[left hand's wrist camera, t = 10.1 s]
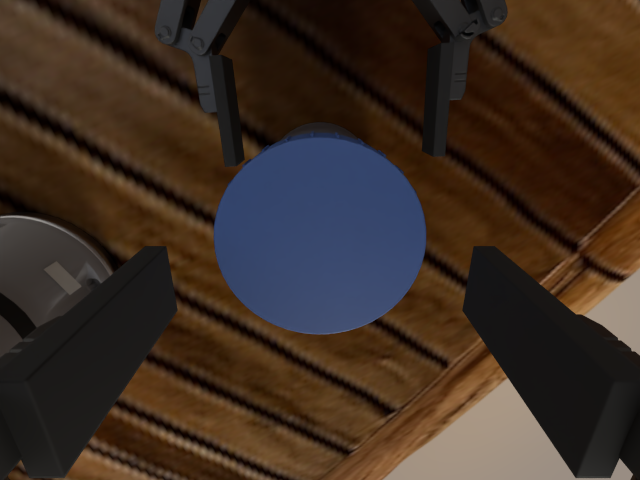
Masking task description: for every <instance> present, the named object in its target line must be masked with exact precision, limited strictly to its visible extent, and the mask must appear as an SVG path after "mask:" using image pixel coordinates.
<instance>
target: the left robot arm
mask: <svg viewBox="0 0 640 480" xmlns="http://www.w3.org/2000/svg"><path fill="white" fill-rule="evenodd" d="M176 312H177V305H176V299H175V293H174V288H173V282H172V276H171V271H170V265H169V259H168V254H167V248H166V246H145V247H144V248H143V249H142V250H140V251H139V252H138V253H137V254H136V255H134V256H133V257H132V258H131V259H130V260H128V261H127V262H126V263H125V264H124V265H122V266H121V267H120V268H119V269H118V267H117V265H116V264H115V262H114V261H113V259H112V258H111V256H110V255H109V254H108V253H107V251H106V250H105V249H104V248H103V247H102V246H101V245H100V244H99V243H98V242H97V241H96V240H95V239H93V238H92V237H91V236H90V235H88V234H87V233H85V232H84V231H82V230H81V229H79V228H78V227H76V226H74V225H72V224H70V223H68V222H66V221H64V220H61V219H58V218H56V217H53V216H49V215H45V214H40V213H34V212H12V213H7V214H3V215H0V480H9V478H8V474H9V473H10V472H11V471H12V470H13V468H14V467H15V466H16V465H17V464H18V462H19V461H20V460H22V462H23V465H24V467H25V469H26V471H27V473H28V476H29V478H65V476H66V475H67V473H68V472H69V470H70V469H71V467H72V466H73V464H74V463H75V461H76V460H77V458H78V457H79V455H80V454H81V452H82V451H83V449H84V448H85V447H86V445H87V444H88V442H89V441H90V439H91V438H92V436H93V435H94V433H95V432H96V430H97V429H98V427H99V426H100V424H101V423H102V421H103V420H104V418H105V417H106V415H107V414H108V412H109V411H110V410H111V408H112V407H113V405H114V404H115V402H116V401H117V399H118V398H119V396H120V395H121V393H122V392H123V390H124V389H125V387H126V386H127V384H128V383H129V381H130V380H131V378H132V377H133V375H134V374H135V373H136V371H137V370H138V368H139V367H140V365H141V364H142V362H143V361H144V359H145V358H146V356H147V355H148V353H149V352H150V350H151V349H152V347H153V346H154V344H155V343H156V341H157V340H158V338H159V337H160V336H161V334H162V333H163V331H164V330H165V328H166V327H167V325H168V324H169V322H170V321H171V319H172V318H173V316H174V315H175V313H176ZM463 312H464V313H465V315H466V316H467V318H468V319H469V321H470V322H471V324H472V325H473V327H474V328H475V330H476V331H477V333H478V334H479V336H480V337H481V339H482V340H483V341H484V343H485V344H486V346H487V347H488V349H489V350H490V352H491V353H492V355H493V356H494V358H495V359H496V361H497V362H498V364H499V365H500V367H501V368H502V370H503V371H504V373H505V374H506V375H507V377H508V378H509V380H510V381H511V383H512V384H513V386H514V387H515V389H516V390H517V392H518V393H519V395H520V396H521V398H522V399H523V401H524V402H525V404H526V405H527V407H528V408H529V410H530V411H531V412H532V414H533V415H534V417H535V418H536V420H537V421H538V423H539V424H540V426H541V427H542V429H543V430H544V432H545V433H546V435H547V436H548V438H549V439H550V441H551V442H552V444H553V445H554V447H555V448H556V449H557V451H558V452H559V454H560V455H561V457H562V458H563V460H564V461H565V463H566V464H567V466H568V467H569V469H570V470H571V472H572V473H573V475H574V476H575V477H576V478H611V476H612V473H613V471H614V469H615V467H616V465H617V462H618V460H619V458H620V459H621V460H622V461H623V463H624V464H625V465H626V466H627V467H628V469H629V470H630V471H631V472H632V473H633V476H632V478H631V480H640V355H638V354H637V353H636V352H632V351H631V348H630V347H628V346H627V345H626V344H625V343H623V342H622V341H618V338H617V337H616V336H615V335H613V334H612V333H611V332H610V331H608V330H607V329H606V328H605V327H603V326H602V325H600V324H599V323H596V322H595V321H593V320H591V319H589V318H587V317H585V316H583V315H576V314H575V313H573V312H572V311H571V310H570V309H569V308H568V307H566V306H565V305H564V304H563V303H562V302H560V301H559V300H558V299H557V298H556V297H554V296H553V295H552V294H551V293H550V292H548V291H547V290H546V289H545V288H544V287H543V286H541V285H540V284H539V283H538V282H537V281H535V280H534V279H533V278H532V277H531V276H529V275H528V274H527V273H526V272H525V271H523V270H522V269H521V268H520V267H519V266H518V265H516V264H515V263H514V262H513V261H512V260H510V259H509V258H508V257H507V256H506V255H504V254H503V253H502V252H501V251H500V250H498V249H497V248H496V247H495V246H474V248H473V254H472V259H471V265H470V271H469V276H468V282H467V288H466V293H465V299H464V305H463Z"/></svg>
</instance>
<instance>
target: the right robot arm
mask: <svg viewBox="0 0 640 480" xmlns="http://www.w3.org/2000/svg"><path fill="white" fill-rule="evenodd" d="M249 1H250V0H209V1H208V3H207V5H206V6H205V8H204V10H203V12H202V14H201V15H200V17H199V19H198V21H197V23H196V25H195V21H196V17H197V14H198V10H199V6H200V2H201V0H161V4H160V8H159V12H158V17H157V21H156V25H155V34H156V37H157V38H158V40H159V41H160V42H162V43H164V44H166V45H169V46H172V47H175V48H178V49H181V50H184V51H186V52H187V53H188V54H189V55H190V56H191V58H192V60H193V63H194V69H195V75H196V81H197V87H198V93H199V99H200V105H201V106H202V108H203V110H204V112H205V113H206V112H217V115H218V122H219V129H220V135H221V142H222V149H223V156H224V162H225V167H230V166H237V165H239V164H240V163H241V162H242V161H244V160H245V158H244V150H243V142H242V134H241V127H240V119H239V111H238V103H237V95H236V87H235V79H234V71H233V63H232V59H229V58H227V57H225V56H223V55H218V54H219V53H220V51H221V49H222V47H223V46H224V44H225V42H226V41H227V39H228V37H229V36H230V34H231V32H232V30H233V29H234V27H235V25H236V24H237V22H238V20H239V19H240V17H241V15H242V13H243V12H244V10H245V8H246V7H247V5H248V3H249ZM412 1H413V3H414V4H415V5H416V7H417V8H418V10H419V11H420V12H421V14H422V15H423V17H424V18H425V20H426V21H427V22H428V24H429V25H430V27H431V28H432V29H433V31H434V32H435V34H436V35H437V37H438V38H439V39H440V41H441V42H442V43H440V44H438V45H436V46H434V47H432V48H429V49H428V58H427V75H426V92H425V109H424V126H423V143H422V151H423V152H425V153H427V154H429V155H431V156H433V157H435V156H445V148H446V136H447V124H448V112H449V100H458V99H461V98H462V96H463V94H464V92H465V87H466V76H467V74H466V73H467V66H468V56H469V47H470V44H471V41H472V40H473V39H474V38H475V37H476V36H477V35H478V34H480V33H483V32H485V31H487V30H489V29H492V28H494V27H496V26H498V25H500V24H502V23H503V22H504V20H505V19H506V17H507V13H508V12H507V6H506V3H505V0H461V2H460V0H412ZM194 25H195V26H194Z"/></svg>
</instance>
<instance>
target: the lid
mask: <svg viewBox="0 0 640 480" xmlns="http://www.w3.org/2000/svg"><path fill="white" fill-rule="evenodd" d="M385 157H386V155H385V154H384V153H382V152H381V151H380V150H378V151H377V150H375V149H374V148H372V147H370V146H369V145H367V144H365V143H364V142H363V141H362V140H361V139H359V138H358V140H356V139H354V138H350V137H347V136H343V135H339V134H338V132H335V134H332V133H314V131H311V133H309V134H301V135H297V136H293V137H291V136H288V137H287V138H286V139H284V140H282V141H279V142H277V143H275V144H273V145H271V146H269V145H268V146H266V147H265V148H264V149H263V150H262V152H261V153H259V154H258V155H257V156H256V157H254V158H253V159H252V160H251V159H250V160H248V161H247V162H246V163H245V164H244V165H243V168H242V169H241V171H240V172H239V173H238V174H237V175H236V176H235V177H234V179H233V180H232V181H231V182H230V183H229V184H228V187H227V189H226V191H225V193H224V195H223V197H222V199H221V201H220V204H219V207H218V210H217V214H216V219H215V225H214V245H215V253H216V257H217V261H218V264H219V267H220V270H221V272H222V275H223V277H224V278H225V280H226V282H227V284H228V286H229V287H230V288H231V290H232V291H233V293H234V294H235V295H236V297H237V298H238V299H239V300H240V301H241V302H242V303H243V304H244V305H245V306H246V307H248V308H249V309H250V310H251V311H252V312H254V313H255V314H256V315H258V316H260V317H261V318H263V319H264V320H266V321H268V322H270V323H272V324H274V325H276V326H279V327H282V328H285V329H288V330H292V331H296V332H300V333H309V334H331V333H339V332H344V331H349V330H352V329H355V328H358V327H361V326H363V325H366V324H368V323H370V322H372V321H374V320H376V319H377V318H379V317H381V316H382V315H384V314H385V313H386V312H388V311H389V310H390V309H391V308H393V307H394V306H395V305H396V304H397V303H398V302H399V301H400V300H401V299H402V298H403V296H404V295H405V294H406V293H407V291H408V290H409V289H410V287H411V285H412V284H413V282H414V280H415V279H416V277H417V274H418V272H419V270H420V267H421V264H422V261H423V257H424V253H425V246H426V225H425V219H424V214H423V210H422V207H421V204H420V201H419V199H418V197H417V195H416V191H415V190H414V189H413V187H412V186H411V184H410V183H409V181H408V180H407V178H406V177H405V176H404V175H403V173H404V172H403V171H402V170H401V169H399V168H398V167H397V166H396V165H393V164H392V163H391V162H390V161H389V160H388V159H387V158H385Z"/></svg>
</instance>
